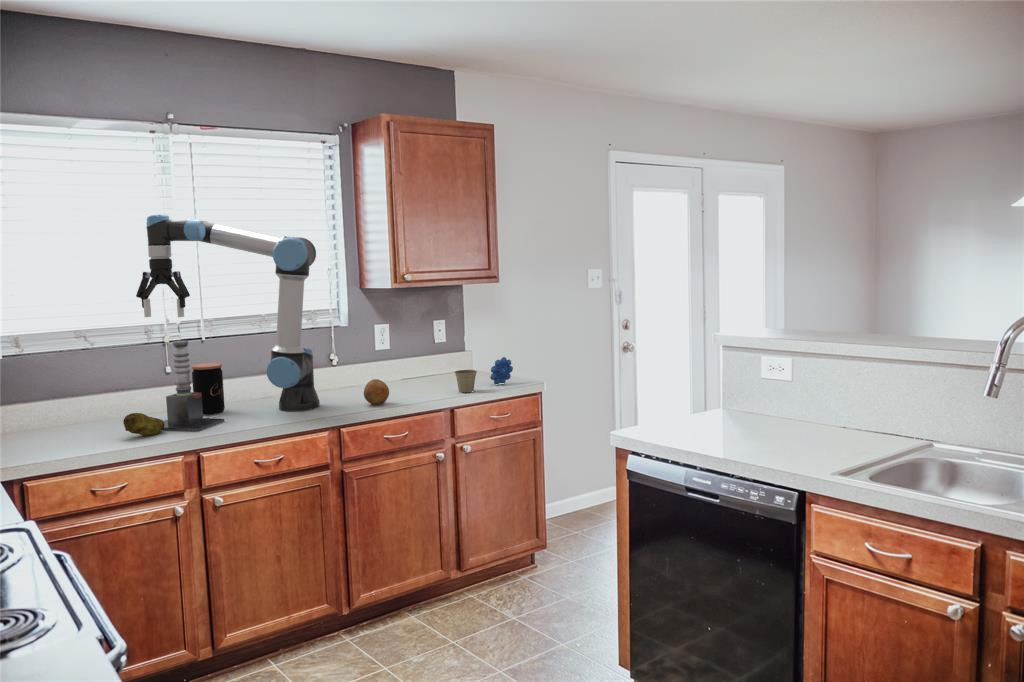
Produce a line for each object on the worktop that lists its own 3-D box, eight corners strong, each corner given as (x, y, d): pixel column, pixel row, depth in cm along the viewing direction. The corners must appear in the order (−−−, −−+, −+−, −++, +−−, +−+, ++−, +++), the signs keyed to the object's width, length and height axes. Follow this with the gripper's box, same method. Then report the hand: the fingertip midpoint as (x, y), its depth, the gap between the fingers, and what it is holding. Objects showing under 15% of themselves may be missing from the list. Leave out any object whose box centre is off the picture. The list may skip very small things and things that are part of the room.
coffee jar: (214, 415, 298) (211, 367, 295) (188, 415, 300) (185, 367, 298) (230, 409, 308) (227, 363, 306) (205, 409, 310) (202, 362, 308)
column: (195, 403, 282) (191, 340, 280) (186, 406, 278) (182, 342, 275) (182, 403, 284) (178, 340, 281) (173, 406, 279) (169, 342, 276)
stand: (224, 421, 287) (222, 390, 286) (197, 431, 271) (195, 398, 270) (174, 419, 291) (172, 389, 290) (145, 429, 276) (143, 397, 275)
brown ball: (395, 403, 314) (394, 378, 313) (377, 408, 306) (376, 382, 305) (376, 401, 319) (375, 376, 318) (358, 405, 311) (357, 380, 310)
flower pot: (475, 394, 331) (474, 373, 330) (452, 393, 333) (452, 373, 332) (479, 390, 340) (479, 369, 339) (457, 389, 342) (457, 369, 341)
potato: (168, 434, 268) (167, 411, 267) (126, 440, 260) (124, 416, 259) (163, 430, 274) (161, 407, 274) (122, 436, 267) (120, 412, 266)
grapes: (507, 381, 360) (506, 355, 359) (516, 383, 354) (515, 356, 353) (485, 384, 353) (484, 357, 352) (494, 386, 348) (493, 359, 346)
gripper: (197, 257, 291) (201, 316, 294) (136, 258, 297) (141, 316, 299) (184, 257, 284) (188, 317, 287) (122, 258, 290) (127, 317, 292)
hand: (164, 317), depth 293 cm, fingers open, 13 cm apart
